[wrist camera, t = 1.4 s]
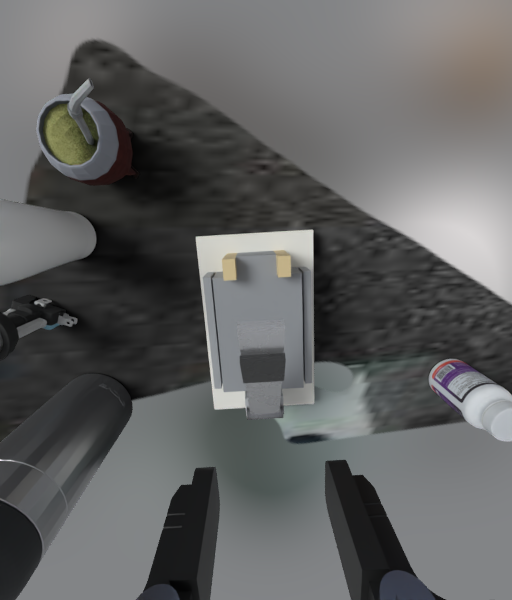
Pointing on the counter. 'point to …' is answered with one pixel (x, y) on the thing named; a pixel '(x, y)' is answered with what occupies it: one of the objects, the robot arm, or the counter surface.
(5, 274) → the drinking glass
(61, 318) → the push button
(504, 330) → the counter surface
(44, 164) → the counter surface
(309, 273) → the base
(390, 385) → the counter surface
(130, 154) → the mate gourd
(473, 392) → the pill bottle
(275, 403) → the latch bar
